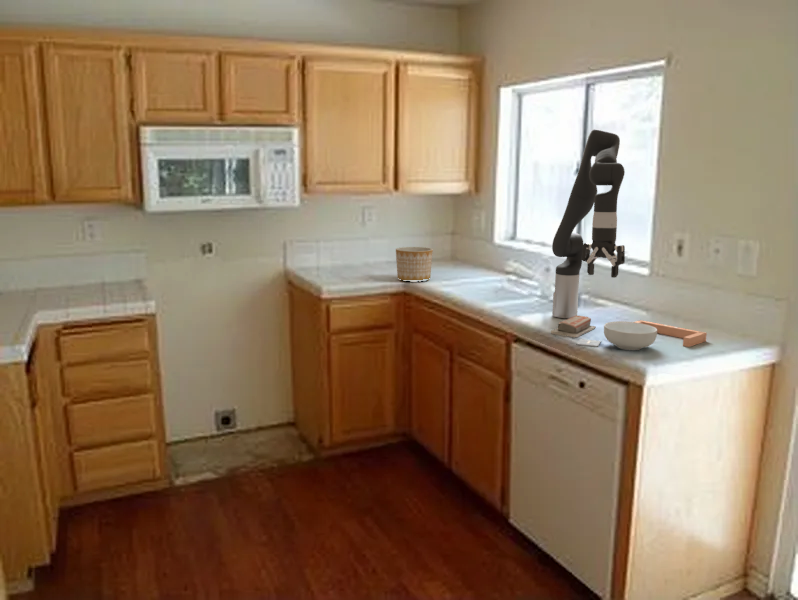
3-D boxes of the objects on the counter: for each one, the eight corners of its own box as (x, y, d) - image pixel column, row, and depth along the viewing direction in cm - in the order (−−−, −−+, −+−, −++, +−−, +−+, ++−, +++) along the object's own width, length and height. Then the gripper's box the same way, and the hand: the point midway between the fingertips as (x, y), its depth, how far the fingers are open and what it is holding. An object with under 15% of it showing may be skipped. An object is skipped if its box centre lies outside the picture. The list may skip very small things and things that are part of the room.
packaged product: (571, 313, 257) (596, 316, 251) (570, 325, 258) (595, 329, 252) (550, 321, 243) (577, 325, 237) (550, 335, 244) (576, 339, 238)
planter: (392, 277, 364) (392, 247, 360) (427, 276, 367) (428, 246, 364) (399, 283, 345) (399, 251, 342) (436, 282, 348) (436, 250, 345)
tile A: (576, 344, 228) (576, 343, 228) (580, 339, 235) (580, 338, 235) (597, 347, 226) (597, 345, 225) (600, 342, 232) (601, 340, 232)
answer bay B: (688, 347, 226) (689, 338, 225) (622, 332, 245) (622, 324, 244) (705, 341, 233) (706, 332, 233) (640, 328, 252) (640, 319, 252)
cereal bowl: (635, 357, 214) (636, 335, 213) (592, 345, 227) (593, 325, 226) (666, 348, 224) (668, 328, 222) (623, 338, 237) (624, 318, 236)
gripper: (630, 226, 215) (628, 277, 218) (592, 224, 226) (590, 273, 228) (617, 227, 210) (615, 279, 213) (578, 225, 221) (576, 275, 224)
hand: (602, 276), depth 221 cm, fingers open, 8 cm apart
